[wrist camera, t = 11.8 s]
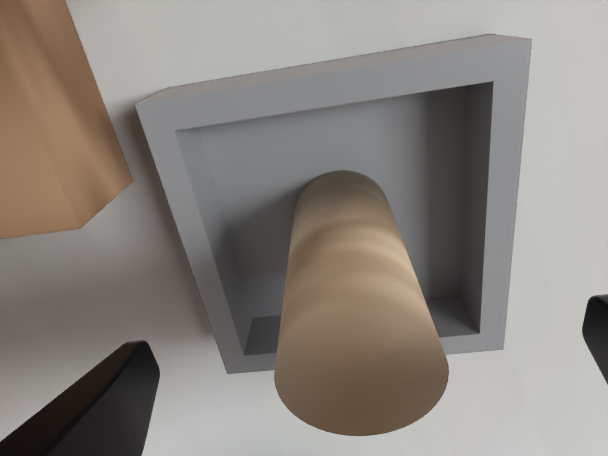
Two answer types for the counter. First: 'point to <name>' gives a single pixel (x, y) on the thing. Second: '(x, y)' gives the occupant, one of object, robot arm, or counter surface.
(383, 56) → the gray square tray
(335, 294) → the beige wooden peg
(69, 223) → the brown square frame
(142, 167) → the counter surface
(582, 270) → the counter surface
